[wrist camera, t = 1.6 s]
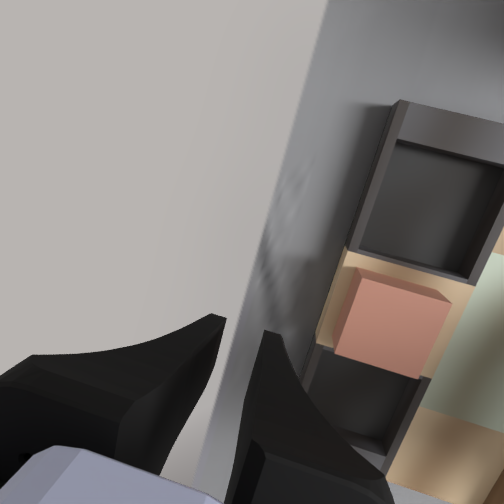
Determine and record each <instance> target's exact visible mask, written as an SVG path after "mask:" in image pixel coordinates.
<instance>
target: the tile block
mask: <svg viewBox="0 0 504 504" xmlns="http://www.w3.org/2000/svg"><path fill="white" fill-rule="evenodd" d="M451 306H452V303H451V302H450V301H449V300H448V299H447V298H446V297H445V296H443V295H442V294H441V293H440V292H439V291H438V290H436V289H433V288H429V287H426V286H422V285H419V284H415V283H411V282H408V281H404V280H401V279H397V278H394V277H390V276H387V275H383V274H380V273H376V272H373V271H369V270H366V269H362V268H359V267H356V270H355V273H354V275H353V278H352V281H351V284H350V287H349V289H348V292H347V295H346V298H345V301H344V303H343V306H342V309H341V312H340V315H339V317H338V320H337V323H336V326H335V329H334V331H333V334H332V340H333V347H334V353H335V354H338V355H341V356H344V357H347V358H350V359H354V360H357V361H360V362H363V363H366V364H370V365H373V366H376V367H379V368H383V369H386V370H389V371H392V372H395V373H399V374H402V375H405V376H408V377H411V378H415V379H418V378H419V376H420V374H421V372H422V370H423V367H424V365H425V363H426V361H427V359H428V356H429V354H430V352H431V350H432V348H433V346H434V343H435V341H436V339H437V337H438V335H439V332H440V330H441V328H442V326H443V324H444V322H445V319H446V317H447V315H448V313H449V311H450V308H451Z"/></svg>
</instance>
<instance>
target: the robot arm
mask: <svg viewBox="0 0 504 504" xmlns="http://www.w3.org/2000/svg"><path fill="white" fill-rule="evenodd" d="M226 319H227V318H225V317H222V316H218V315H215V314H212V313H211V314H209V315H207V316H205V317H203V318H201V319H199V320H197V321H195V322H193V323H192V324H189V325H187V326H185V327H183V328H181V329H179V330H177V331H174V332H172V333H170V334H167V335H164V336H162V337H159V338H157V339H154V340H151V341H147V342H144V343H140V344H137V345H133V346H127V347H123V348H117V349H113V350H107V351H100V352H91V353H80V354H59V355H31V356H29V357H28V358H26V359H25V360H23V361H22V362H20V363H18V364H17V365H15V366H14V367H12V368H11V369H9V370H8V371H6V372H5V373H4V374H2V375H0V504H395V503H394V500H393V496H392V494H391V491H390V488H389V486H388V483H387V480H386V477H385V475H384V474H383V473H382V472H381V471H380V470H378V469H377V468H376V467H375V466H374V465H372V464H371V463H370V462H369V461H368V460H366V459H365V458H364V457H363V456H362V455H360V454H359V453H358V452H357V451H356V450H355V449H354V448H353V447H352V446H351V445H350V444H349V443H348V442H347V441H346V440H345V439H343V438H342V437H341V436H340V435H339V433H338V432H337V431H336V430H335V429H334V428H333V427H332V426H331V425H330V424H329V422H328V421H327V420H326V419H325V418H324V416H323V415H322V414H321V413H320V412H319V410H318V409H317V408H316V406H315V405H314V404H313V402H312V401H311V399H310V398H309V396H308V395H307V393H306V392H305V390H304V388H303V387H302V385H301V383H300V381H299V379H298V377H297V375H296V373H295V371H294V369H293V366H292V364H291V362H290V359H289V357H288V354H287V351H286V348H285V345H284V342H283V338H282V336H281V335H280V334H276V333H273V332H270V331H267V330H264V333H263V337H262V340H261V344H260V347H259V350H258V354H257V357H256V361H255V364H254V368H253V371H252V374H251V378H250V382H249V385H248V389H247V392H246V396H245V399H244V405H243V410H242V417H241V423H240V429H239V435H238V441H237V447H236V453H235V459H234V464H233V469H232V474H231V477H230V481H229V485H228V489H227V493H226V497H225V501H224V503H222V502H220V501H219V500H217V499H215V498H214V497H212V496H211V495H209V494H207V493H204V492H202V491H199V490H196V489H193V488H191V487H188V486H185V485H182V484H180V483H177V482H174V481H171V480H169V479H166V478H163V477H160V476H159V475H160V473H161V471H162V469H163V466H164V464H165V462H166V460H167V457H168V455H169V453H170V451H171V449H172V447H173V445H174V443H175V441H176V439H177V437H178V435H179V434H180V432H181V430H182V428H183V427H184V425H185V423H186V421H187V419H188V418H189V416H190V414H191V413H192V411H193V409H194V407H195V405H196V404H197V402H198V400H199V398H200V397H201V395H202V393H203V391H204V389H205V388H206V385H207V383H208V380H209V378H210V376H211V373H212V371H213V368H214V366H215V362H216V358H217V354H218V351H219V347H220V343H221V338H222V335H223V330H224V327H225V323H226Z"/></svg>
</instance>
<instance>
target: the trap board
mask: <svg viewBox="0 0 504 504" xmlns="http://www.w3.org/2000/svg"><path fill="white" fill-rule="evenodd" d="M356 267H359V268H362V269H366V270H369V271H373V272H376V273H380V274H383V275H387V276H390V277H394V278H397V279H401V280H404V281H408V282H411V283H415V284H419V285H422V286H426V287H429V288H433V289H436V290H438V291H439V292H440V293H441V294H442V295H443V296H445V297H446V298H447V299H448V300H449V301H450V302H451V303H452V306H451V308H450V311H449V313H448V315H447V317H446V319H445V322H444V324H443V326H442V328H441V330H440V332H439V335H438V337H437V339H436V341H435V343H434V346H433V348H432V350H431V352H430V354H429V356H428V359H427V361H426V363H425V365H424V367H423V370H422V372H421V374H420V376H419V378H418V379H415V378H411V377H408V376H405V375H402V374H399V373H395V372H392V371H389V370H386V369H383V368H379V367H376V366H373V365H370V364H366V363H363V362H360V361H357V360H354V359H350V358H347V357H344V356H341V355H338V354H335V353H334V347H333V340H332V334H333V331H334V329H335V326H336V323H337V320H338V317H339V315H340V312H341V309H342V306H343V303H344V301H345V298H346V295H347V292H348V289H349V287H350V284H351V281H352V278H353V275H354V273H355V270H356ZM299 381H300V383H301V385H302V387H303V388H304V390H305V392H306V393H307V395H308V396H309V398H310V399H311V401H312V402H313V404H314V405H315V406H316V408H317V409H318V410H319V412H320V413H321V414H322V415H323V416H324V418H325V419H326V420H327V421H328V422H329V424H330V425H331V426H332V427H333V428H334V429H335V430H336V431H337V432H338V433H339V435H340V436H341V437H342V438H343V439H345V440H346V441H347V442H348V443H349V444H350V445H351V446H352V447H353V448H354V449H355V450H356V451H357V452H358V453H359V454H360V455H362V456H363V457H364V458H365V459H366V460H368V461H369V462H370V463H371V464H372V465H374V466H375V467H376V468H377V469H378V470H380V471H381V472H382V473H383V474H384V475H385V477H386V480H387V481H389V482H392V483H394V484H397V485H400V486H403V487H406V488H409V489H412V490H415V491H418V492H421V493H424V494H427V495H429V496H432V497H435V498H438V499H441V500H444V501H447V502H450V503H453V504H504V124H502V123H498V122H494V121H490V120H485V119H481V118H477V117H472V116H468V115H464V114H460V113H455V112H451V111H447V110H443V109H438V108H434V107H430V106H425V105H421V104H417V103H413V102H408V101H404V100H399V101H397V102H396V103H395V104H394V105H392V108H391V111H390V114H389V117H388V120H387V123H386V126H385V129H384V132H383V134H382V137H381V140H380V143H379V146H378V149H377V152H376V155H375V158H374V161H373V164H372V167H371V170H370V173H369V176H368V179H367V181H366V184H365V187H364V190H363V193H362V196H361V199H360V202H359V205H358V208H357V211H356V214H355V217H354V220H353V223H352V226H351V228H350V231H349V234H348V237H347V240H346V243H345V246H344V249H343V252H342V255H341V258H340V261H339V264H338V267H337V270H336V273H335V275H334V278H333V281H332V284H331V287H330V290H329V293H328V296H327V299H326V302H325V305H324V308H323V311H322V314H321V317H320V319H319V322H318V325H317V328H316V331H315V334H314V337H313V340H312V343H311V346H310V349H309V352H308V355H307V358H306V361H305V364H304V366H303V369H302V372H301V375H300V378H299Z"/></svg>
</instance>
